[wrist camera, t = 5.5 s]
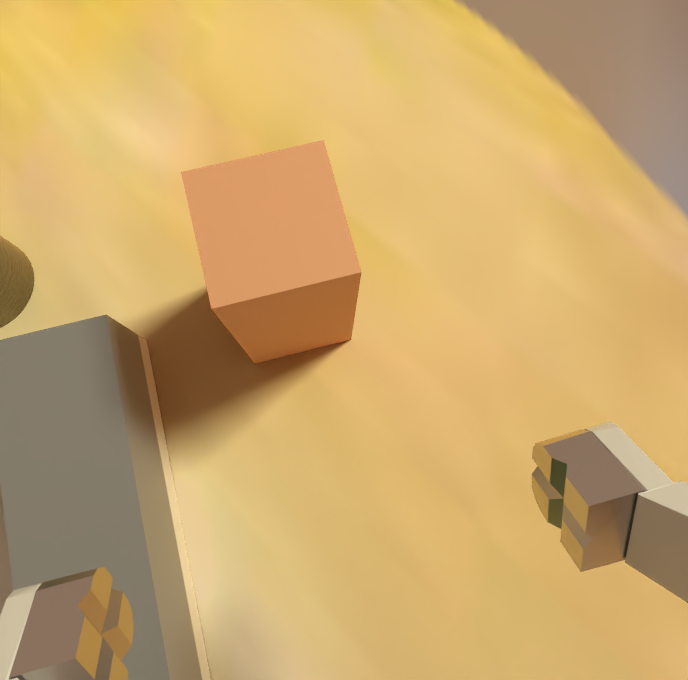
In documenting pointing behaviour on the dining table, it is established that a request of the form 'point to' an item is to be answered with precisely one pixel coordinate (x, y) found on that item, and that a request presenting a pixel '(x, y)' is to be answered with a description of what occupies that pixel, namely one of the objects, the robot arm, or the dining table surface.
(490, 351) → the dining table surface
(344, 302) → the square bit
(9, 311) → the cylinder
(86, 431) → the holder block
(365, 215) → the dining table surface
